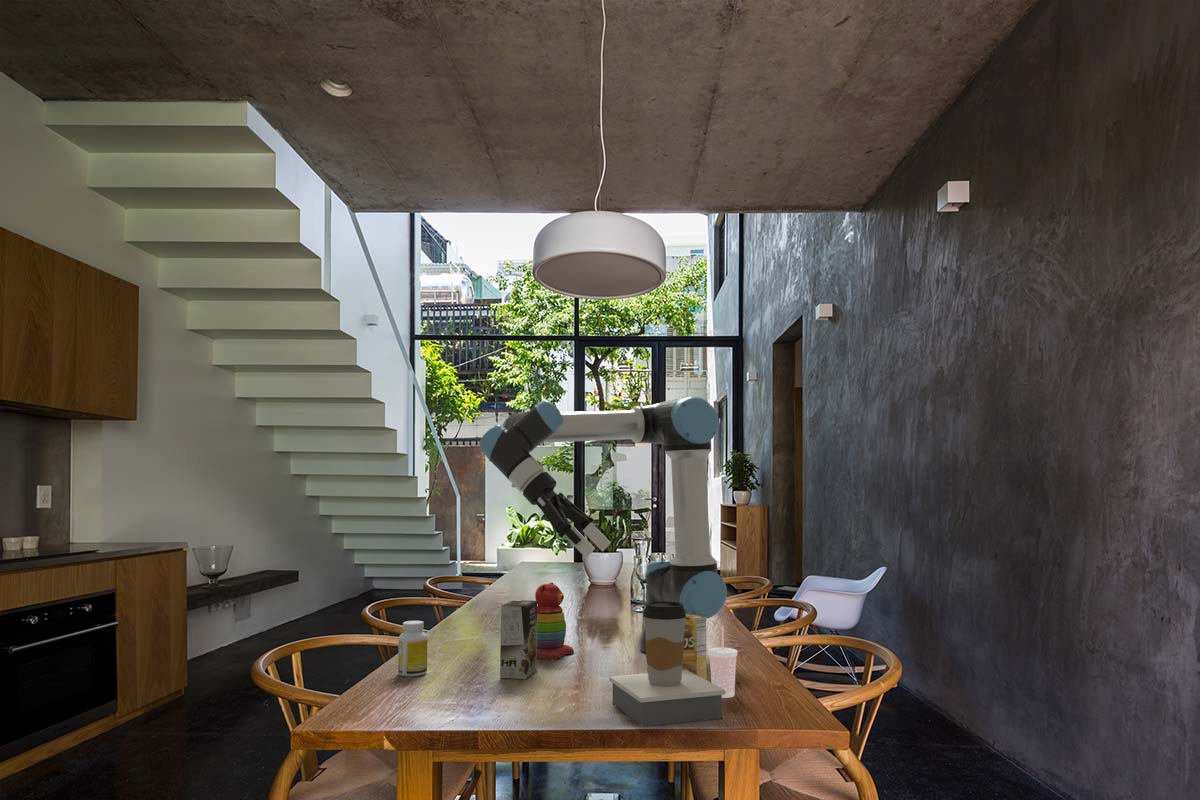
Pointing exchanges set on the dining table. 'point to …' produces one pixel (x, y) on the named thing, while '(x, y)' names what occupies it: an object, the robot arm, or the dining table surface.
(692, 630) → the candy box
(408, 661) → the pill bottle
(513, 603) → the coffee box
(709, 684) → the lidded box
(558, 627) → the stacking bear
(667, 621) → the coffee cup
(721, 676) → the beverage cup
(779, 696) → the dining table surface
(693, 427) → the robot arm
